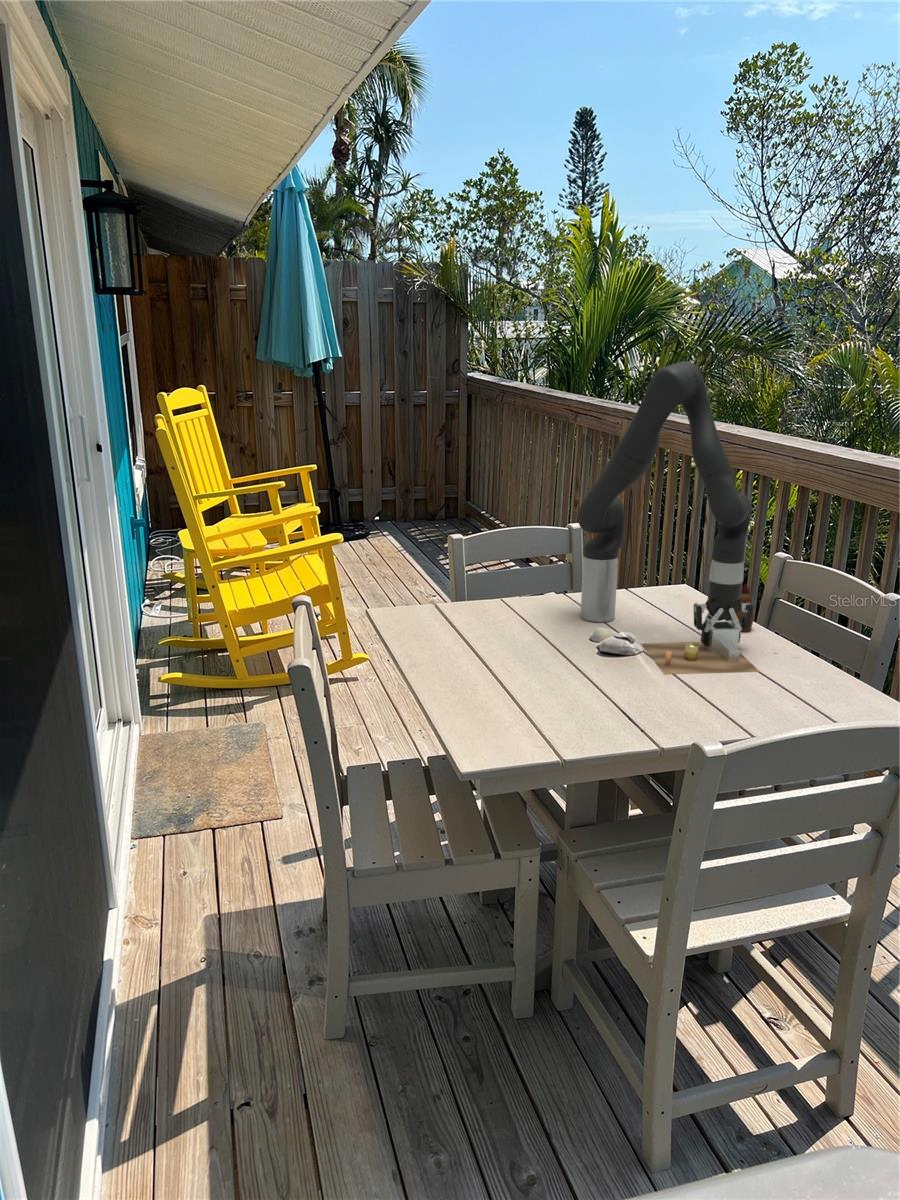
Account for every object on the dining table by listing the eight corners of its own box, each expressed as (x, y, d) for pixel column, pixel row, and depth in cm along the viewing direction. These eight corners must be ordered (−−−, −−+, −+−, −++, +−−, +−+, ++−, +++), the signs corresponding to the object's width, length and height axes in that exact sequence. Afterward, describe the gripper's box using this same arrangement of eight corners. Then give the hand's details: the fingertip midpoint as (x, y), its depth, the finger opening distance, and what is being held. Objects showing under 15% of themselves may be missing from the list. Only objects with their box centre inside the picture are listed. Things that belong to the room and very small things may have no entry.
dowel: (664, 663, 205) (665, 651, 204) (669, 663, 205) (670, 650, 204) (666, 665, 204) (667, 652, 203) (671, 664, 204) (672, 652, 203)
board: (640, 649, 218) (640, 643, 218) (727, 646, 220) (728, 641, 219) (663, 680, 199) (664, 674, 199) (759, 677, 201) (760, 671, 200)
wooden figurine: (723, 636, 227) (728, 579, 223) (725, 629, 232) (730, 574, 228) (750, 639, 225) (756, 582, 220) (752, 632, 230) (758, 576, 225)
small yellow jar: (682, 656, 209) (683, 642, 208) (695, 656, 209) (696, 642, 208) (686, 661, 206) (687, 647, 205) (699, 660, 207) (700, 646, 206)
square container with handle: (702, 644, 217) (704, 621, 215) (727, 643, 217) (729, 620, 216) (719, 663, 205) (722, 638, 203) (746, 662, 206) (749, 638, 204)
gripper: (749, 573, 213) (742, 639, 218) (690, 574, 212) (685, 640, 217) (762, 582, 206) (754, 650, 211) (701, 583, 205) (695, 651, 210)
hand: (719, 644), depth 214 cm, fingers closed on square container with handle, 6 cm apart
